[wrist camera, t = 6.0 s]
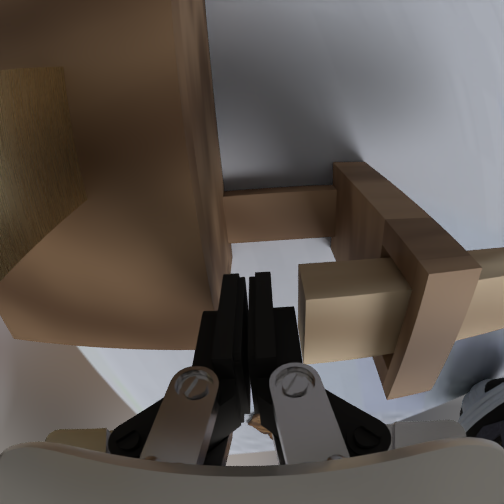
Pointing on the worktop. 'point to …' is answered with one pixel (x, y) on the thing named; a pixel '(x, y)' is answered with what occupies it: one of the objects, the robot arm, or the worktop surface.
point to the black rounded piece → (484, 411)
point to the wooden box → (336, 229)
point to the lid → (99, 177)
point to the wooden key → (379, 306)
